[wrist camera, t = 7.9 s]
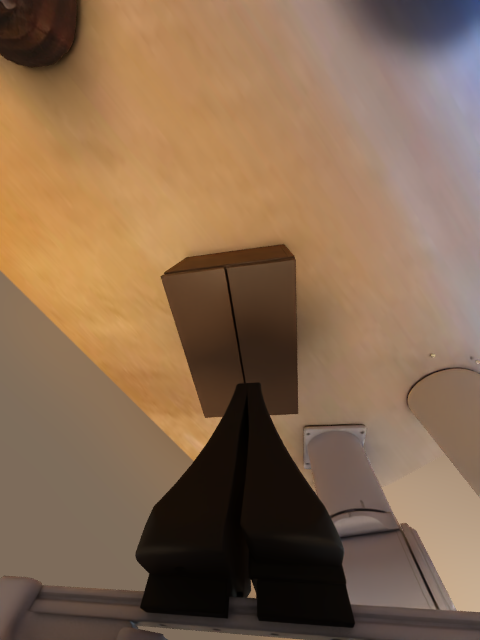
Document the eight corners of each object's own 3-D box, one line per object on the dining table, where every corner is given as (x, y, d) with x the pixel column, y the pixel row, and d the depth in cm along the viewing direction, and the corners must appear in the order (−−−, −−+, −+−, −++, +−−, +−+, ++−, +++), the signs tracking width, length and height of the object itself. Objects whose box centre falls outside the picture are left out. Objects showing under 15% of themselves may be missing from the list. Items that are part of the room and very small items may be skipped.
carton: (289, 368, 24) (299, 414, 19) (215, 373, 25) (204, 418, 20) (283, 244, 18) (296, 258, 13) (186, 257, 19) (158, 275, 14)
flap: (249, 411, 20) (249, 415, 19) (205, 414, 20) (204, 417, 20) (225, 266, 14) (224, 267, 13) (162, 274, 14) (160, 276, 14)
